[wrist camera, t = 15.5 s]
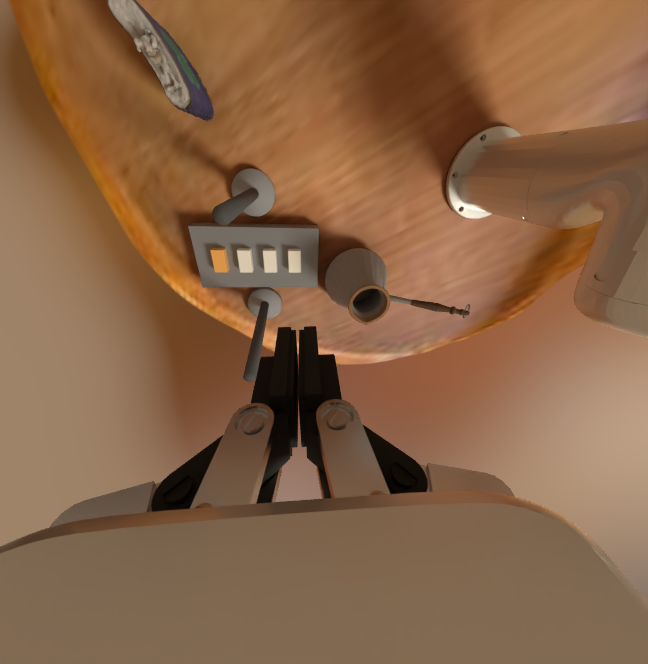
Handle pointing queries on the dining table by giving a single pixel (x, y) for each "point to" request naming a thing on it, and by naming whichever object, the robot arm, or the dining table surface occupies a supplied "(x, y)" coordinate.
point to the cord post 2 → (260, 324)
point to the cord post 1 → (246, 197)
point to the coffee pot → (368, 287)
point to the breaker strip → (256, 254)
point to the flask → (164, 59)
